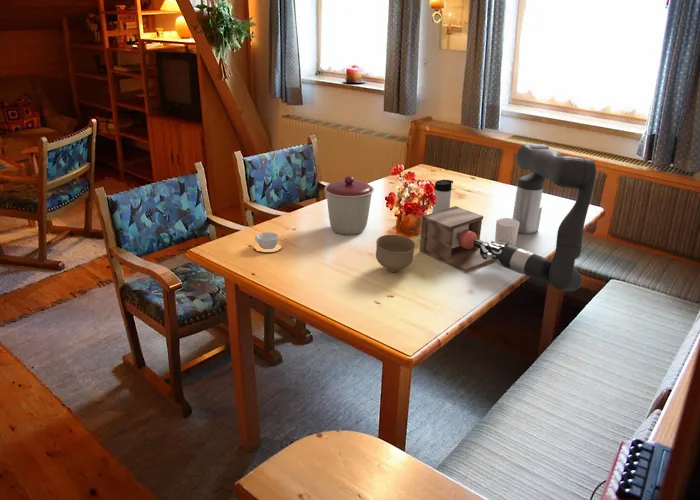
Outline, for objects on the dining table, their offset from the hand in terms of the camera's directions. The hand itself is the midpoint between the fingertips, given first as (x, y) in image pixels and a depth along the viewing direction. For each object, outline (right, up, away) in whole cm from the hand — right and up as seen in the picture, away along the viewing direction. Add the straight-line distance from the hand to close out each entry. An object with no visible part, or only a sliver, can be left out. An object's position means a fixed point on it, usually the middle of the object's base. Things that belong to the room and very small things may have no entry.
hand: (475, 242), depth 193 cm
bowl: (-27, -9, -4) cm, 29 cm away
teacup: (-71, -2, +10) cm, 71 cm away
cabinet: (-4, -4, +7) cm, 9 cm away
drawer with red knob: (-5, -1, +7) cm, 9 cm away
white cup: (+13, -2, +14) cm, 20 cm away
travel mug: (-8, +5, +28) cm, 29 cm away
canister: (-42, +5, +27) cm, 50 cm away
